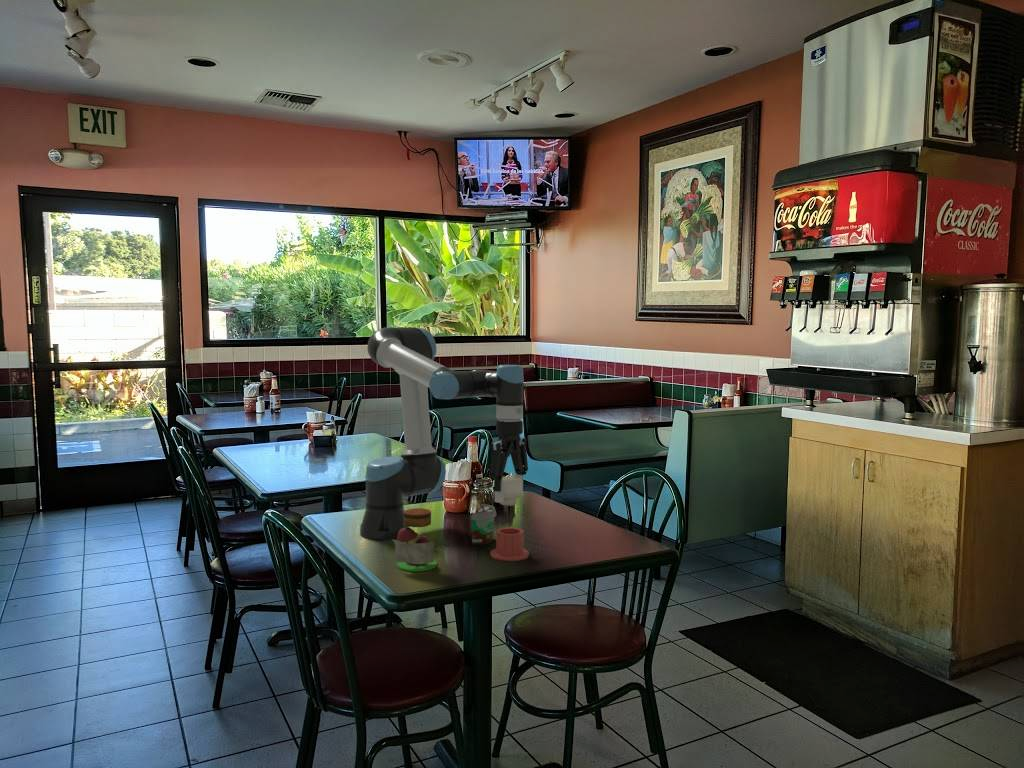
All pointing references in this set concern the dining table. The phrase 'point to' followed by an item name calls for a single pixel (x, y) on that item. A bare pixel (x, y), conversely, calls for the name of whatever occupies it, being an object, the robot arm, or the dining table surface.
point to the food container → (483, 524)
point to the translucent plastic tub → (418, 552)
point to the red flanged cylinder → (509, 545)
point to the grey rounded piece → (512, 490)
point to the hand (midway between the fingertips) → (508, 499)
